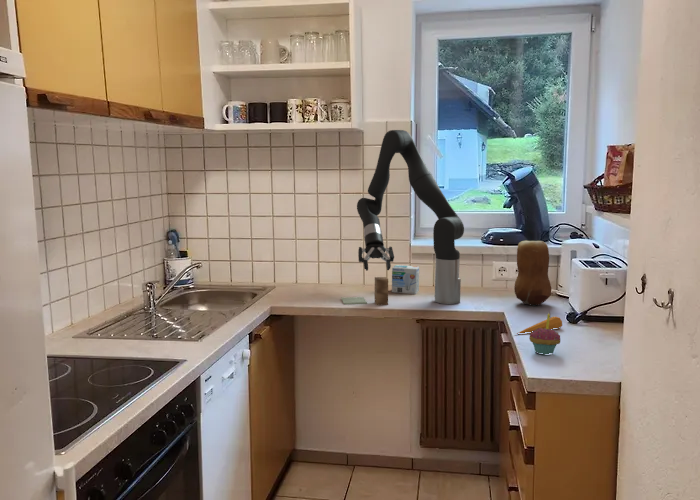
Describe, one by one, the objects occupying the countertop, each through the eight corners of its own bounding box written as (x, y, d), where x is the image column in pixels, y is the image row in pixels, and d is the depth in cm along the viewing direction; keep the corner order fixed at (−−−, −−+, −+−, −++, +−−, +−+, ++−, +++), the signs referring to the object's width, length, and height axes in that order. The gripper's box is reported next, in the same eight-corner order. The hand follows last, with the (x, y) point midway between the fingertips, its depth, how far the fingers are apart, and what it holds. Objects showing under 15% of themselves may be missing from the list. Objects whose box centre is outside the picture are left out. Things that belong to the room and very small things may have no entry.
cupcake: (535, 346, 175) (537, 307, 174) (564, 352, 170) (566, 311, 168) (524, 353, 169) (525, 312, 167) (553, 360, 163) (555, 317, 162)
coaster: (363, 298, 238) (363, 297, 238) (366, 303, 229) (366, 302, 229) (341, 299, 237) (341, 297, 236) (343, 304, 228) (343, 302, 228)
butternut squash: (530, 299, 237) (532, 237, 233) (557, 305, 225) (561, 240, 222) (505, 303, 229) (508, 239, 226) (533, 310, 218) (536, 243, 214)
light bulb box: (391, 292, 249) (391, 267, 247) (394, 289, 255) (395, 264, 254) (416, 294, 246) (416, 268, 244) (419, 290, 252) (419, 266, 250)
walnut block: (385, 302, 232) (386, 277, 230) (388, 304, 227) (388, 279, 226) (374, 302, 231) (374, 277, 229) (376, 305, 227) (376, 279, 225)
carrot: (556, 329, 197) (552, 316, 198) (566, 327, 193) (562, 314, 194) (510, 343, 188) (506, 329, 189) (519, 341, 184) (515, 327, 185)
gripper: (357, 231, 241) (361, 264, 231) (391, 231, 243) (396, 263, 233) (355, 243, 247) (359, 275, 237) (389, 242, 249) (394, 274, 239)
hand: (377, 269), depth 235 cm, fingers open, 8 cm apart
